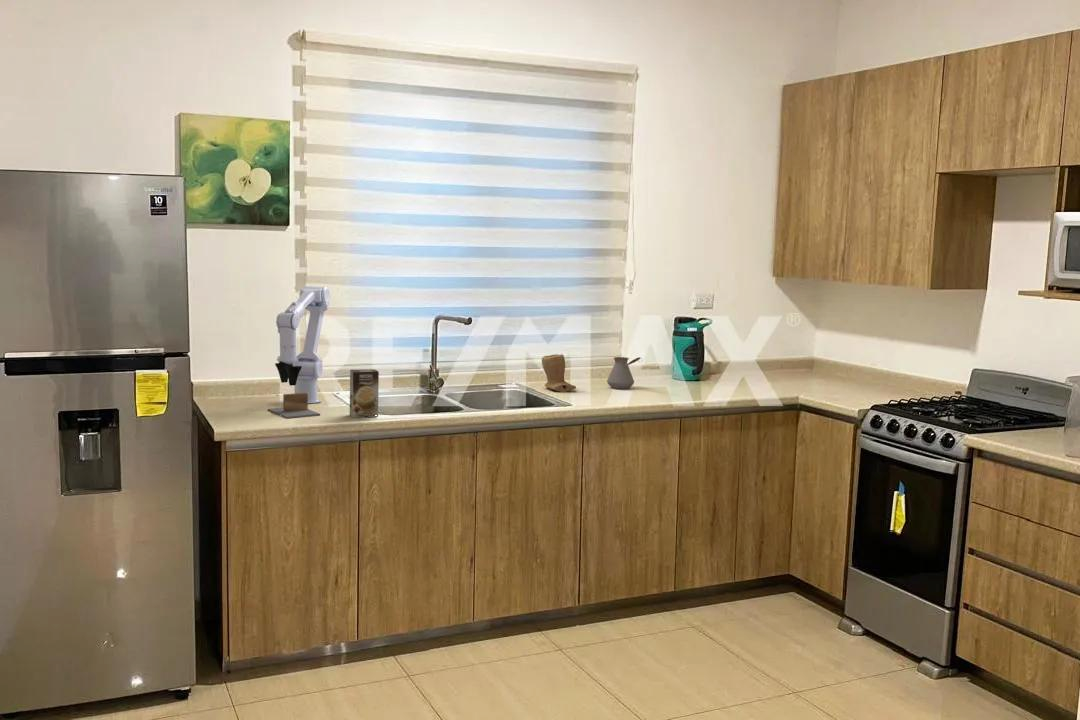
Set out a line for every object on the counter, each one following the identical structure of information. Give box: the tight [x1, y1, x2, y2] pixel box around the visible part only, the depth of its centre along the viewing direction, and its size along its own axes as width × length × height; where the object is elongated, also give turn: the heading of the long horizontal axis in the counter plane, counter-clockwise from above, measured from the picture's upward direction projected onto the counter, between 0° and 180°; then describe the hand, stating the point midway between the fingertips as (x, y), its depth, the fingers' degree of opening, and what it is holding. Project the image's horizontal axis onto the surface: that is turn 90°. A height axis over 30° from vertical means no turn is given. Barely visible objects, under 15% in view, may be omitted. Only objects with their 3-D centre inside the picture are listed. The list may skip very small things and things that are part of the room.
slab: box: [282, 392, 309, 412], centre depth 355 cm, size 3×8×6 cm, turn 126°
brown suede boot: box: [541, 353, 577, 393], centre depth 416 cm, size 15×12×15 cm
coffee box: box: [349, 368, 380, 418], centre depth 351 cm, size 9×6×16 cm
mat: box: [267, 407, 321, 419], centre depth 354 cm, size 18×12×1 cm, turn 36°
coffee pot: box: [606, 356, 643, 390], centre depth 420 cm, size 21×12×15 cm, turn 25°
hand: (288, 383), depth 359 cm, fingers open, 7 cm apart
